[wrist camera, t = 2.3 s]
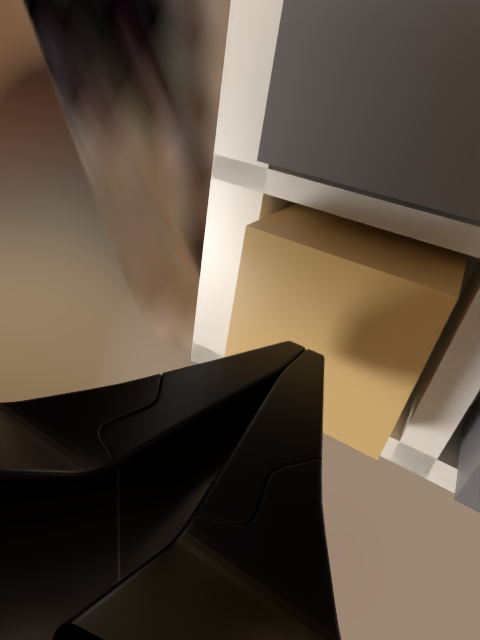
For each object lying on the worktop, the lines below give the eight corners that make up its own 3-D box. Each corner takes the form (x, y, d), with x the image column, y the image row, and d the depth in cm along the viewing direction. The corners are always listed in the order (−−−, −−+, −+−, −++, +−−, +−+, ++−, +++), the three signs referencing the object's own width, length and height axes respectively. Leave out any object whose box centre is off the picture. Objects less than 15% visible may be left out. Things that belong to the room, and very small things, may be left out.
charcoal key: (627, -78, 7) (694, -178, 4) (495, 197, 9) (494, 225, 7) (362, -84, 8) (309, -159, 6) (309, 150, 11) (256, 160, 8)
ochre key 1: (468, 254, 10) (458, 298, 8) (400, 394, 12) (377, 460, 10) (297, 203, 12) (246, 225, 9) (266, 335, 14) (220, 380, 12)
